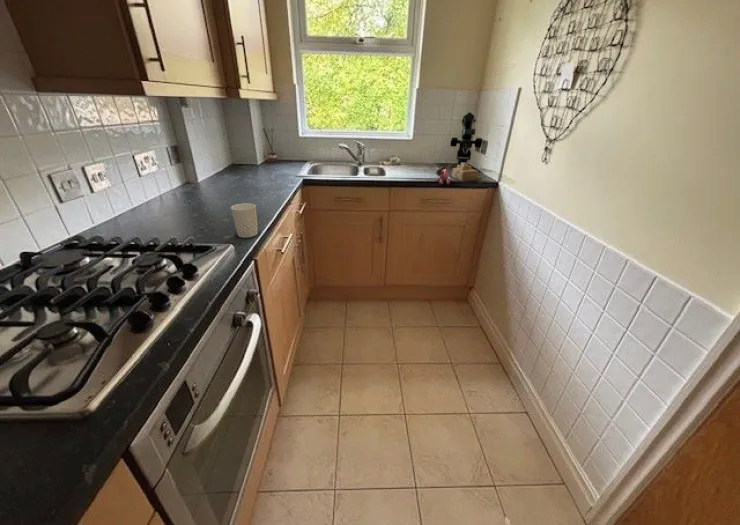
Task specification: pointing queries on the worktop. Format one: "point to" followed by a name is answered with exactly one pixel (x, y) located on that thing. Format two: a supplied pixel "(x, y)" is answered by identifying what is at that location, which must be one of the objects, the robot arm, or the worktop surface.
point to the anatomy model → (443, 174)
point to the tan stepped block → (464, 173)
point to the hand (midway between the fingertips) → (465, 153)
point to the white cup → (245, 219)
